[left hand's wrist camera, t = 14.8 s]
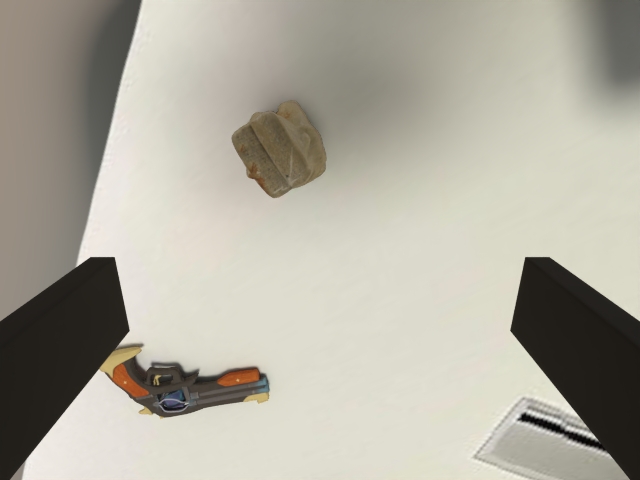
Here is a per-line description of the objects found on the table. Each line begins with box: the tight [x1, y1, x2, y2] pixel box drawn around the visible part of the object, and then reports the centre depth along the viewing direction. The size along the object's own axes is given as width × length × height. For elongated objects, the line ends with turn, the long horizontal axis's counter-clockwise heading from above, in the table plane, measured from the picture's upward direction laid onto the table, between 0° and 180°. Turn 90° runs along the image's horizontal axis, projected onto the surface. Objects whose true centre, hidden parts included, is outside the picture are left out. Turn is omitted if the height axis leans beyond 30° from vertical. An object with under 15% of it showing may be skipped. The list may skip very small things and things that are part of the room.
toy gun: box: [99, 347, 269, 419], centre depth 47 cm, size 3×19×10 cm
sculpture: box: [232, 101, 326, 198], centre depth 31 cm, size 6×7×15 cm
